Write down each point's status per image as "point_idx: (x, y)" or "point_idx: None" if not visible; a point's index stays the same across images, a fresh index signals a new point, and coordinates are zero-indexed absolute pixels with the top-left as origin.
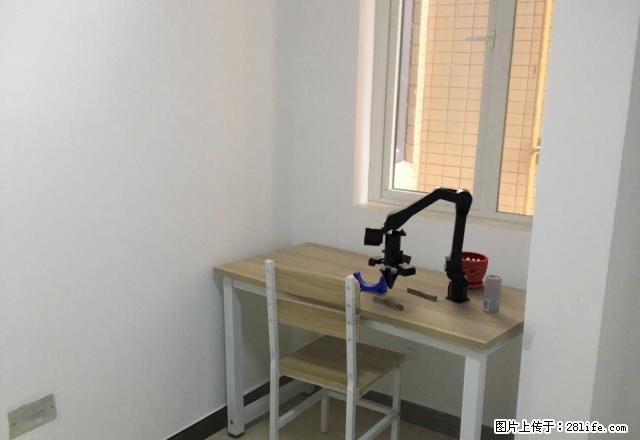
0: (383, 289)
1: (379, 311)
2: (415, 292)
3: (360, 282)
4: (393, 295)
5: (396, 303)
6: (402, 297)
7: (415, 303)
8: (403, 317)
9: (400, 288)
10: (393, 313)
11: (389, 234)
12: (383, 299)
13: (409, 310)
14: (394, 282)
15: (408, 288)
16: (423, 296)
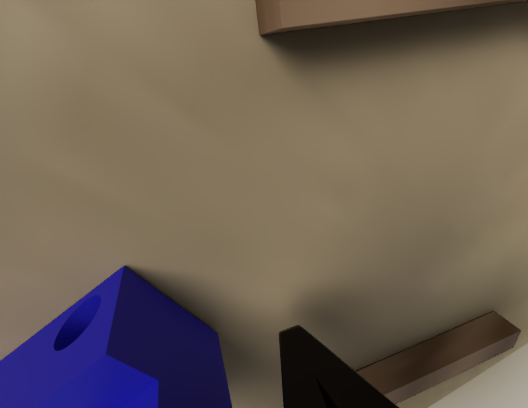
0: (224, 369)
1: (425, 402)
2: (416, 14)
3: None
4: (300, 270)
5: (479, 353)
6: (378, 222)
7: (507, 198)
8: (525, 336)
9: (105, 44)
10: None
11: None
12: (395, 401)
13: (518, 285)
14: (370, 385)
15: (303, 26)
16: (510, 2)
